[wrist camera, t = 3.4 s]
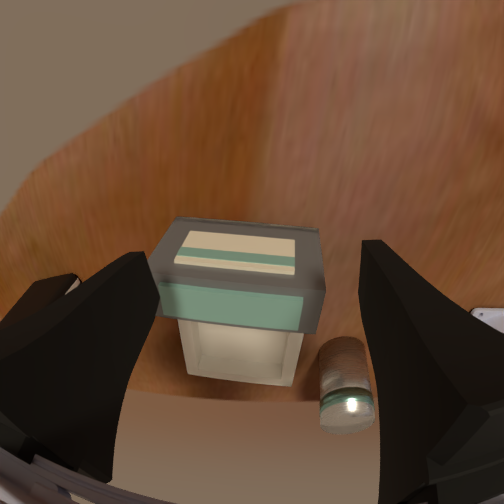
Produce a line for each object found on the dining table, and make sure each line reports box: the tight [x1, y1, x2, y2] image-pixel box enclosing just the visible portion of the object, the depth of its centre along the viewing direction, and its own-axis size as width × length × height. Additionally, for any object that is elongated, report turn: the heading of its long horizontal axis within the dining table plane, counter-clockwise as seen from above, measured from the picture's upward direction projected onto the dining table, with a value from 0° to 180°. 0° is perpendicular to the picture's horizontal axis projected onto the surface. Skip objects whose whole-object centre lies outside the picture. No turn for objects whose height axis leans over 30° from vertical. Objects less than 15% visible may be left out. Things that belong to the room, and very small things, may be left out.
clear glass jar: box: [319, 337, 375, 434], centre depth 23 cm, size 4×4×7 cm
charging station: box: [147, 217, 326, 386], centre depth 21 cm, size 9×14×6 cm, turn 178°
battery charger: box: [0, 273, 80, 330], centre depth 21 cm, size 7×4×11 cm, turn 106°
